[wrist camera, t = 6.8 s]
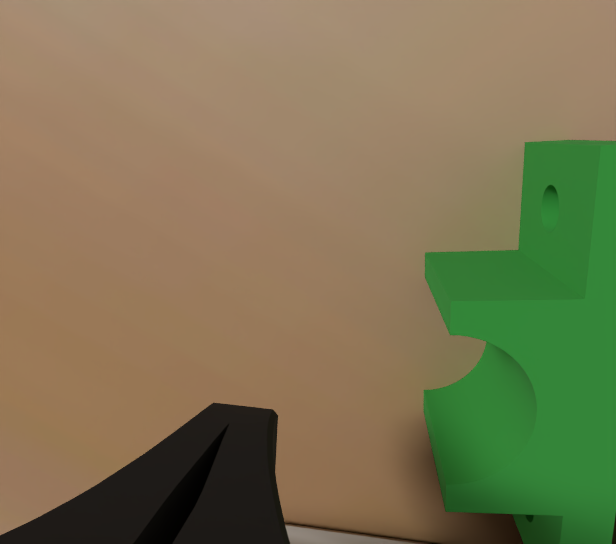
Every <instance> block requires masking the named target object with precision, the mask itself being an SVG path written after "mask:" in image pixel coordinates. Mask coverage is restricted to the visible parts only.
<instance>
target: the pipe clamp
mask: <svg viewBox="0 0 616 544" xmlns="http://www.w3.org/2000/svg"><path fill="white" fill-rule="evenodd" d="M425 278H426V281H427V283H428V285H429V287H430V290H431V292H432V294H433V297H434V299H435V301H436V304H437V306H438V308H439V310H440V313H441V315H442V317H443V320H444V322H445V324H446V327H447V329H448V331H449V333H450V335H461V336H468V337H473V338H477V339H481V340H483V341H486V342H487V343H486V347H485V350H484V353H483V355H482V357H481V359H480V361H479V362H478V364H477V365H476V366H475V367H474V369H473V370H472V371H471V372H470V373H469V374H467V375H466V376H465V377H464V378H462V379H461V380H459V381H457V382H456V383H454V384H451V385H449V386H446V387H443V388H439V389H433V390H424V415H425V420H426V424H427V429H428V433H429V438H430V442H431V447H432V452H433V456H434V461H435V465H436V470H437V474H438V479H439V484H440V488H441V493H442V497H443V502H444V507H445V511H446V512H469V513H497V514H512V515H513V518H514V520H515V523H516V525H517V528H518V530H519V533H520V536H521V538H522V541H523V543H524V544H612V537H613V530H614V522H615V515H616V141H589V140H561V141H542V142H525V153H524V169H523V185H522V202H521V218H520V234H519V250H506V251H468V252H430V253H425Z"/></svg>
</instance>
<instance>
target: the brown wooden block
mask: <svg viewBox="0 0 616 544" xmlns="http://www.w3.org/2000/svg"><path fill="white" fill-rule="evenodd" d="M285 527H286V530H287V534H288V538H289V541H290V544H430V543H423V542H416V541H409V540H401V539H394V538H387V537H380V536H372V535H365V534H358V533H351V532H343V531H336V530H329V529H322V528H314V527H307V526H300V525H293V524H285Z"/></svg>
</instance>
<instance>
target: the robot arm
mask: <svg viewBox="0 0 616 544" xmlns="http://www.w3.org/2000/svg"><path fill="white" fill-rule="evenodd" d="M277 423H278V415H277V414H276V413H275V412H274V410H272V409H264V408H255V407H246V406H237V405H229V404H220V403H213V404H211V405H210V406H208V407H207V408H206V409H204V410H203V411H202V412H200V413H199V414H198V415H196V416H195V417H194V418H192V419H191V420H190V421H188V422H187V423H186V424H184V425H183V426H182V427H180V428H179V429H178V430H176V431H175V432H174V433H172V434H171V435H170V436H168V437H167V438H165V439H164V440H163V441H161V442H160V443H159V444H157V445H156V446H154V447H153V448H152V449H150V450H149V451H148V452H146V453H145V454H143V455H142V456H140V457H139V458H137V459H136V460H134V461H133V462H131V463H129V464H128V465H126V466H125V467H123V468H122V469H120V470H119V471H117V472H116V473H114V474H113V475H111V476H110V477H108V478H107V479H105V480H103V481H102V482H100V483H99V484H97V485H95V486H94V487H92V488H90V489H89V490H87V491H85V492H84V493H82V494H80V495H78V496H77V497H75V498H73V499H72V500H70V501H68V502H66V503H64V504H62V505H60V506H59V507H57V508H55V509H53V510H51V511H49V512H47V513H46V514H44V515H42V516H40V517H38V518H36V519H34V520H32V521H30V522H28V523H26V524H24V525H22V526H20V527H18V528H15V529H13V530H11V531H9V532H7V533H5V534H2V535H0V544H290V541H289V538H288V534H287V530H286V527H285V522H284V518H283V514H282V509H281V505H280V500H279V495H278V489H277V483H276V476H275V462H276V443H277Z"/></svg>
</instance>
